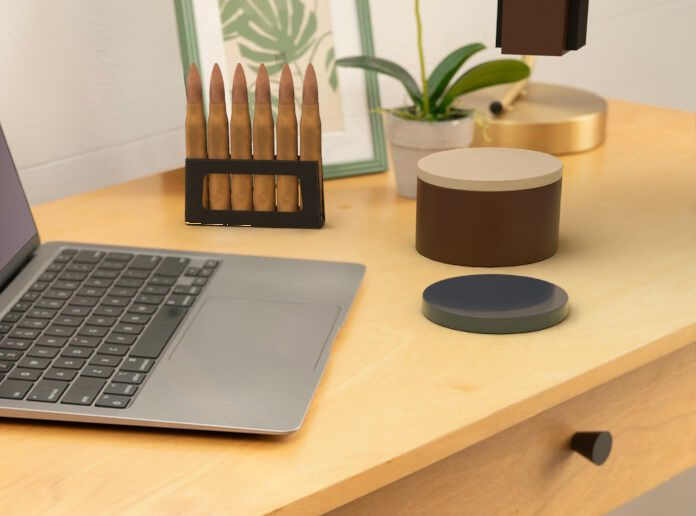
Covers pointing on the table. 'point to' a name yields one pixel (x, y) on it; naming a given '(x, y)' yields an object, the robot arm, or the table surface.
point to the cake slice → (535, 27)
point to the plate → (495, 303)
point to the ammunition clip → (241, 166)
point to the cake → (488, 206)
